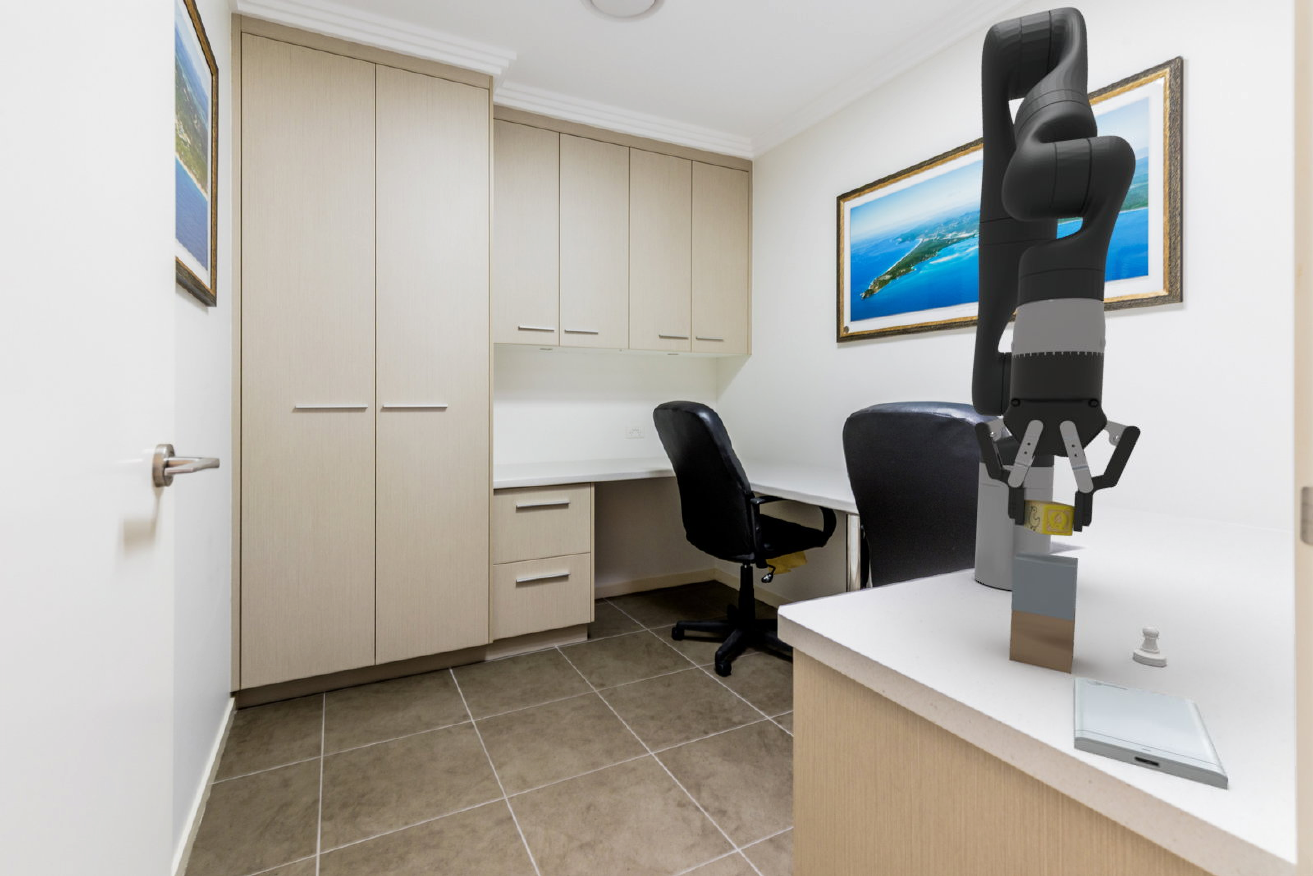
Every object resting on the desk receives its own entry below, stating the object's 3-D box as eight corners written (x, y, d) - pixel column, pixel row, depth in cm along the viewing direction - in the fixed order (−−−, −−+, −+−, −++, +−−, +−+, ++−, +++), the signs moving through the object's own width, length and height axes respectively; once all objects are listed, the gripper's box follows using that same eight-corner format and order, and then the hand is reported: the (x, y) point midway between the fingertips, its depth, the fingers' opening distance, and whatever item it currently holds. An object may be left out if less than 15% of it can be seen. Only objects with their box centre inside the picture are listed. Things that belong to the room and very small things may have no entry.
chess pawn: (1160, 659, 61) (1162, 624, 61) (1170, 669, 59) (1172, 633, 59) (1128, 655, 62) (1130, 620, 62) (1137, 664, 60) (1139, 629, 60)
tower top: (1017, 598, 64) (1019, 550, 64) (1075, 608, 61) (1078, 558, 61) (1011, 609, 60) (1013, 558, 60) (1073, 621, 57) (1075, 567, 57)
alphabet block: (1052, 530, 62) (1054, 500, 61) (1074, 536, 58) (1075, 504, 58) (1022, 529, 62) (1023, 499, 61) (1042, 535, 58) (1043, 503, 58)
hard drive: (1074, 675, 54) (1074, 733, 44) (1196, 701, 50) (1229, 772, 39) (1073, 693, 54) (1073, 755, 44) (1195, 721, 50) (1227, 798, 39)
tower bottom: (1015, 645, 64) (1017, 598, 64) (1073, 657, 61) (1075, 608, 61) (1009, 660, 60) (1011, 609, 60) (1070, 674, 57) (1073, 621, 57)
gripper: (1148, 353, 58) (1138, 532, 59) (980, 358, 67) (973, 514, 67) (1153, 344, 52) (1142, 544, 53) (968, 351, 61) (960, 523, 61)
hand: (1047, 526), depth 60 cm, fingers closed on alphabet block, 4 cm apart
